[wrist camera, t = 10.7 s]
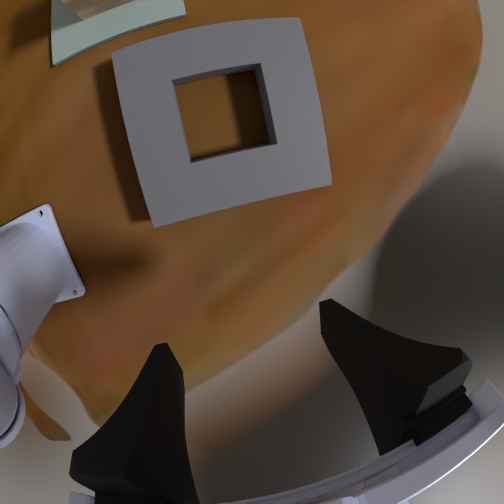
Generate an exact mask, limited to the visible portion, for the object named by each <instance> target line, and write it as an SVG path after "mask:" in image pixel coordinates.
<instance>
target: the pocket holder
mask: <svg viewBox="0 0 504 504" xmlns="http://www.w3.org/2000/svg"><path fill="white" fill-rule="evenodd" d="M111 54H112V61H113V67H114V73H115V79H116V84H117V90H118V95H119V100H120V105H121V109H122V114H123V119H124V123H125V127H126V132H127V136H128V140H129V144H130V148H131V152H132V156H133V159H134V163H135V167H136V170H137V174H138V178H139V181H140V185H141V188H142V191H143V195H144V198H145V201H146V204H147V208H148V211H149V214H150V217H151V220H152V223H153V226H154V228H157V227H160V226H164V225H167V224H171V223H174V222H178V221H181V220H185V219H189V218H192V217H196V216H200V215H203V214H207V213H211V212H215V211H219V210H223V209H227V208H230V207H234V206H238V205H243V204H247V203H251V202H255V201H259V200H263V199H268V198H272V197H276V196H281V195H285V194H290V193H294V192H299V191H303V190H308V189H313V188H318V187H322V186H327V185H332V180H331V171H330V164H329V156H328V149H327V142H326V136H325V130H324V124H323V118H322V112H321V107H320V101H319V96H318V91H317V86H316V82H315V77H314V72H313V68H312V64H311V59H310V55H309V51H308V47H307V43H306V39H305V36H304V32H303V28H302V25H301V21H300V18H266V19H252V20H242V21H233V22H226V23H219V24H213V25H207V26H201V27H196V28H191V29H187V30H182V31H178V32H174V33H170V34H166V35H163V36H159V37H156V38H152V39H149V40H146V41H143V42H139V43H136V44H133V45H131V46H128V47H125V48H122V49H120V50H117V51H114V52H112V53H111ZM251 70H254V71H255V75H256V80H257V84H258V89H259V94H260V98H261V103H262V108H263V112H264V117H265V122H266V127H267V132H268V137H269V142H270V143H267V144H262V145H257V146H252V147H247V148H243V149H238V150H233V151H229V152H225V153H220V154H216V155H212V156H208V157H204V158H200V159H196V160H193V161H191V157H190V152H189V148H188V144H187V140H186V136H185V131H184V127H183V123H182V118H181V114H180V110H179V105H178V101H177V96H176V91H175V87H174V86H177V85H180V84H184V83H188V82H192V81H197V80H201V79H205V78H210V77H215V76H220V75H226V74H231V73H237V72H244V71H251Z"/></svg>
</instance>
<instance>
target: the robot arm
mask: <svg viewBox="0 0 504 504" xmlns="http://www.w3.org/2000/svg"><path fill="white" fill-rule="evenodd" d="M40 210H41V211H42V212H43V215H41V214H40ZM74 290H76V291H77V293H76V292H74ZM84 293H85V287H84V285H83V283H82V281H81V279H80V277H79V275H78V273H77V271H76V269H75V266H74V264H73V262H72V260H71V257H70V255H69V253H68V251H67V248H66V246H65V243H64V241H63V238H62V236H61V233H60V231H59V228H58V226H57V223H56V220H55V217H54V215H53V212H52V209H51V207H50V205H49V204H44V205H42V206H40V207H38V208H36V209H34V210H32V211H30V212H28V213H26V214H24V215H22V216H20V217H18V218H16V219H15V220H13V221H11V222H9V223H7V224H6V225H4V226H2V227H0V448H3V447H4V446H6V445H7V444H9V443H10V442H11V441H12V440H13V439H14V438H15V437H16V435H17V434H18V432H19V431H20V428H21V426H22V424H23V420H24V416H25V400H24V396H23V393H22V391H21V389H20V387H19V386H18V383H19V380H20V378H21V376H22V374H23V370H22V368H21V366H20V360H21V358H22V356H23V354H24V352H25V350H26V349H27V347H28V345H29V343H30V341H31V340H32V338H33V336H34V335H35V333H36V331H37V329H38V328H39V326H40V325H41V323H42V321H43V320H44V318H45V316H46V315H47V313H48V312H49V310H50V309H51V307H52V306H53V304H54V303H57V302H61V301H65V300H69V299H72V298H76V297H80V296H83V295H84ZM319 306H320V324H321V335H322V337H323V339H324V342H325V344H326V346H327V348H328V350H329V352H330V353H331V355H332V357H333V358H334V360H335V362H336V363H337V365H338V366H339V368H340V369H341V371H342V372H343V374H344V376H345V377H346V379H347V380H348V382H349V383H350V385H351V387H352V389H353V390H354V393H355V395H356V397H357V399H358V401H359V403H360V405H361V408H362V410H363V412H364V414H365V417H366V419H367V422H368V424H369V427H370V429H371V432H372V434H373V437H374V440H375V443H376V445H377V448H378V451H379V454H380V457H378V458H376V459H374V460H372V461H370V462H368V463H365V464H363V465H361V466H359V467H356V468H354V469H352V470H349V471H347V472H344V473H342V474H339V475H336V476H334V477H331V478H328V479H326V480H322V481H320V482H317V483H313V484H310V485H307V486H304V487H300V488H297V489H293V490H289V491H286V492H282V493H278V494H273V495H269V496H264V497H259V498H254V499H248V500H242V501H235V502H229V503H220V504H305V503H308V502H311V501H315V500H317V499H321V498H324V497H327V496H329V495H332V494H335V493H338V492H340V491H343V490H346V489H348V488H351V487H353V486H356V485H358V484H360V483H362V482H364V484H363V486H364V487H363V488H362V489H361V490H358V491H356V492H353V493H350V494H347V495H345V496H341V497H338V498H335V499H332V500H329V501H326V502H322V503H320V504H409V502H408V499H410V498H412V497H413V496H415V495H417V494H418V493H420V492H421V491H423V490H425V489H426V488H428V487H429V486H431V485H433V484H434V483H436V482H437V481H438V480H440V479H441V478H443V477H444V476H445V475H447V474H448V473H450V472H451V471H452V470H454V469H455V468H456V467H458V466H459V465H460V464H461V463H463V462H464V461H465V460H466V459H468V458H469V457H470V456H471V455H472V454H474V453H475V452H476V451H477V450H478V449H479V448H480V447H481V446H482V445H484V444H485V443H486V442H487V441H488V440H489V439H490V438H491V437H492V436H493V435H494V434H495V433H496V432H497V431H498V430H499V429H500V428H501V427H502V426H503V425H504V398H503V396H502V395H501V394H500V393H499V392H498V391H497V389H496V388H495V387H494V386H493V385H492V384H491V382H490V381H489V380H486V381H485V382H483V383H482V384H481V385H480V386H479V387H478V388H476V389H475V390H474V391H473V392H472V393H471V394H470V395H469V396H468V397H467V396H466V394H465V392H466V388H465V387H464V386H463V383H464V381H465V380H466V378H467V376H468V374H469V372H470V370H471V368H472V360H471V359H470V358H469V357H468V356H467V355H466V354H465V353H464V352H463V351H462V350H461V349H460V348H453V347H444V346H437V345H432V344H427V343H422V342H418V341H415V340H411V339H408V338H405V337H402V336H399V335H397V334H394V333H392V332H389V331H387V330H385V329H382V328H381V327H378V326H377V325H374V324H373V323H371V322H369V321H367V320H365V319H364V318H362V317H360V316H358V315H356V314H355V313H353V312H352V311H350V310H349V309H347V308H345V307H344V306H342V305H341V304H339V303H338V302H336V301H334V300H333V299H328V300H325V301H321V302H319ZM184 407H185V388H184V379H183V371H182V369H181V367H180V366H179V364H178V362H177V360H176V358H175V357H174V355H173V353H172V351H171V349H170V348H169V346H168V344H167V343H162V344H157V345H155V346H154V348H153V349H152V351H151V353H150V355H149V357H148V359H147V361H146V363H145V365H144V366H143V368H142V370H141V372H140V374H139V376H138V378H137V379H136V381H135V383H134V384H133V386H132V388H131V389H130V391H129V393H128V394H127V396H126V397H125V399H124V400H123V402H122V403H121V404H120V406H119V407H118V408H117V410H116V411H115V412H114V413H113V415H112V416H111V417H110V418H109V419H108V420H107V421H106V423H105V424H104V425H103V426H102V427H101V428H100V429H99V430H98V431H97V432H96V433H95V434H94V435H92V436H91V437H90V438H89V439H88V440H87V441H85V442H84V443H83V444H82V445H80V446H79V447H78V448H76V449H75V450H73V453H72V458H71V465H70V471H69V474H70V476H71V478H72V479H74V480H75V481H76V482H78V483H80V484H81V485H83V486H85V487H87V488H89V489H91V490H92V491H94V492H95V497H93V496H90V495H86V494H81V493H76V492H70V497H69V504H200V502H199V499H198V495H197V492H196V489H195V485H194V481H193V477H192V473H191V468H190V463H189V458H188V453H187V446H186V439H185V425H184V424H185V422H184V421H185V420H184V419H185V415H184V412H185V408H184ZM369 479H370V480H369ZM367 480H368V481H367ZM365 481H366V482H365Z"/></svg>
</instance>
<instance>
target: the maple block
mask: <svg viewBox="0 0 504 504" xmlns="http://www.w3.org/2000/svg"><path fill="white" fill-rule="evenodd" d="M61 1H62V2H63V3H64V4H66V5H67V6H68V7H69V8H70V9H71V10H72V11H74V12H75V13H76V14H77V15H78V16H79V17H80V18H81V19H82V20H86V19H89V18H91V17H93V16H95V15H98V14H100V13H103V12H105V11H108V10H110V9H113V8H115V7H118V6H121V5H124V4H127V3H130V2H133V1H136V0H61Z"/></svg>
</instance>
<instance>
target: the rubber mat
mask: <svg viewBox="0 0 504 504" xmlns="http://www.w3.org/2000/svg"><path fill="white" fill-rule="evenodd" d="M184 17H186V12H185V7H184V2H183V0H136V1H133V2H130V3H127V4H124V5H121V6H118V7H115V8H113V9H110V10H108V11H105V12H103V13H100V14H98V15H95V16H93V17H91V18H89V19H86V20H82V19H81V18H80V17H79V16H78V15H77V14H76V13H75V12H74V11H72V10H71V9H70V8H69V7H68V6H67V5H66V4H64V3H63V2H62V1H61V0H52V7H51V41H52V58H53V65H54V66H57V65H59V64H61V63H63V62H64V61H66V60H68V59H70V58H72V57H74V56H76V55H78V54H80V53H82V52H84V51H86V50H89V49H91V48H93V47H95V46H98V45H100V44H102V43H105V42H107V41H110V40H112V39H115V38H117V37H120V36H123V35H125V34H128V33H131V32H134V31H137V30H140V29H143V28H146V27H150V26H153V25H156V24H160V23H164V22H167V21H171V20H175V19H180V18H184Z"/></svg>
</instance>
